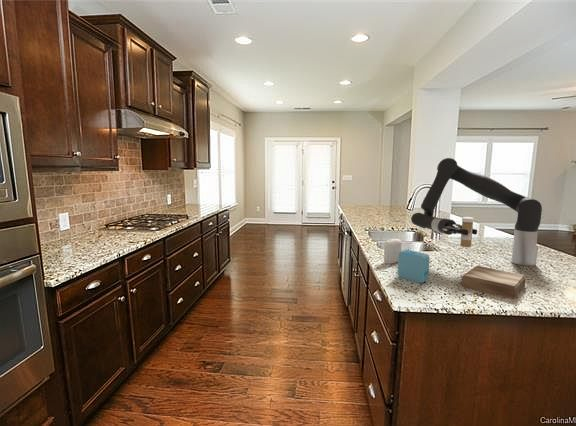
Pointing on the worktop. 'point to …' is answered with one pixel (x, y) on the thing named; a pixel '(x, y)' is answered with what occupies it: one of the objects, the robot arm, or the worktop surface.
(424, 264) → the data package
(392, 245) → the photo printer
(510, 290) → the walnut riser
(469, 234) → the sprinkles bottle
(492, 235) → the worktop surface
